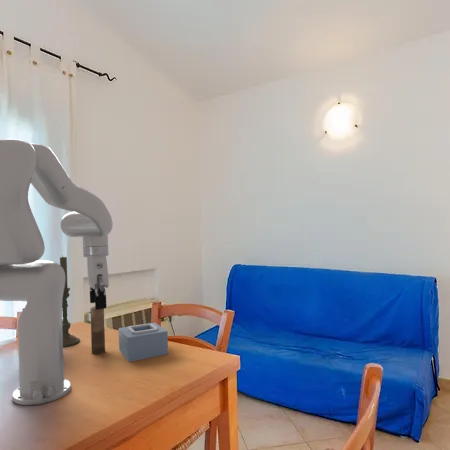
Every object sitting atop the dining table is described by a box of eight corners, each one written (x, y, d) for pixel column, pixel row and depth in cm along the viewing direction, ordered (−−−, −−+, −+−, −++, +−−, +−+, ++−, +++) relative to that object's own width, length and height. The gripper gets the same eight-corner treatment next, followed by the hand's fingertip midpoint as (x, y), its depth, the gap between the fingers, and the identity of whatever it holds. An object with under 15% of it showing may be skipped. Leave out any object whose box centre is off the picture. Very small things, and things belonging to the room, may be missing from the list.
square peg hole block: (168, 354, 116) (167, 329, 116) (128, 361, 111) (127, 335, 111) (155, 343, 127) (155, 320, 127) (119, 350, 121) (118, 326, 121)
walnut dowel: (106, 352, 119) (105, 307, 119) (92, 355, 117) (91, 309, 117) (103, 349, 123) (102, 305, 123) (90, 351, 121) (89, 307, 121)
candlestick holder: (52, 340, 133) (50, 254, 133) (80, 337, 136) (78, 253, 136) (49, 348, 125) (46, 256, 125) (79, 345, 127) (76, 255, 127)
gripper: (113, 252, 114) (116, 309, 115) (102, 248, 130) (104, 298, 130) (87, 254, 111) (90, 313, 111) (79, 250, 126) (81, 301, 126)
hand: (98, 305), depth 121 cm, fingers open, 9 cm apart
